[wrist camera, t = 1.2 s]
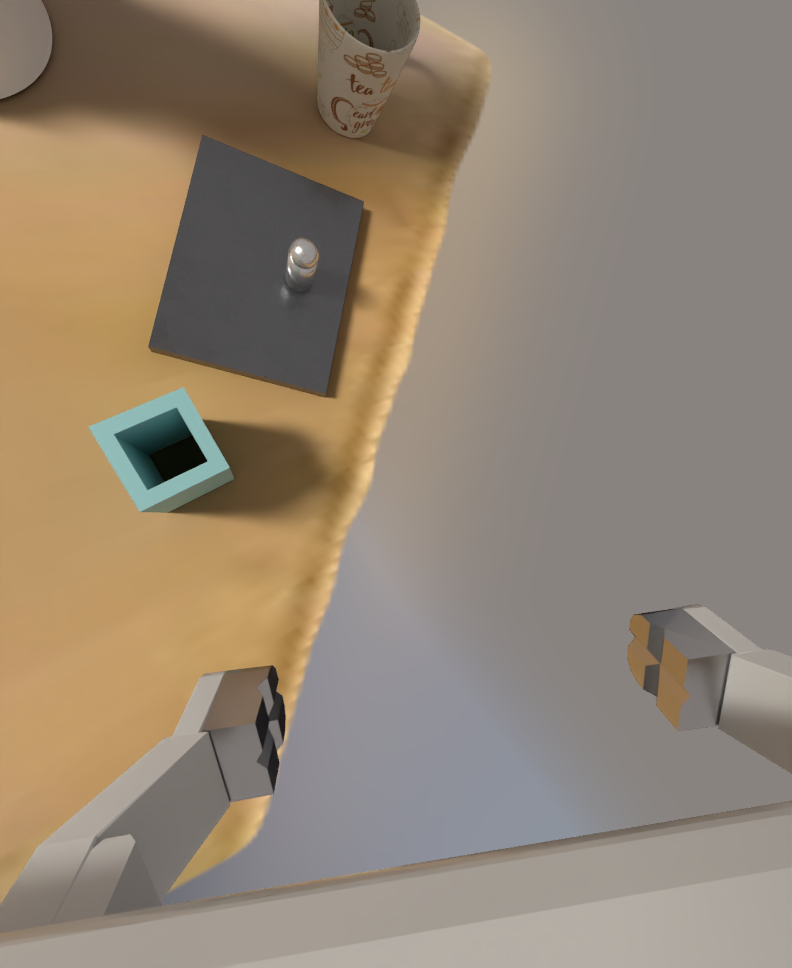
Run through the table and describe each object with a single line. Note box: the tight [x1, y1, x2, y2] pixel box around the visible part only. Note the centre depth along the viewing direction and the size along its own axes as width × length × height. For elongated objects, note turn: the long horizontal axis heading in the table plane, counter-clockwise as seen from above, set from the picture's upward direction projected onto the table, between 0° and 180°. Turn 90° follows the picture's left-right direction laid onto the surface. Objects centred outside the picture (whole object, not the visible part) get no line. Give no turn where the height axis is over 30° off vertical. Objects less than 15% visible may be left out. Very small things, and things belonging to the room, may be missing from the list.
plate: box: [148, 135, 364, 397], centre depth 38 cm, size 15×20×6 cm
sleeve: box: [89, 387, 234, 513], centre depth 33 cm, size 6×6×10 cm
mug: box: [317, 0, 420, 138], centre depth 40 cm, size 8×13×10 cm, turn 173°
